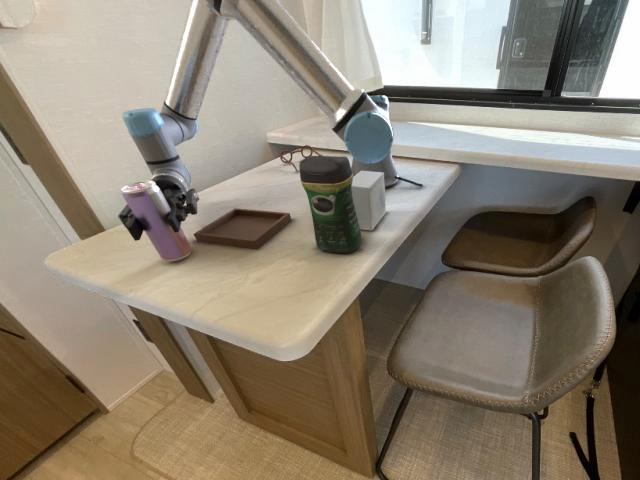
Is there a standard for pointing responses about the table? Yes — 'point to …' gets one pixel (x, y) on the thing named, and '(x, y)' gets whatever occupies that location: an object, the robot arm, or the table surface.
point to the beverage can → (156, 219)
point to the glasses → (296, 152)
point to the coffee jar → (331, 202)
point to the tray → (243, 228)
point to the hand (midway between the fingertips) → (153, 229)
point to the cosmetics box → (369, 198)
